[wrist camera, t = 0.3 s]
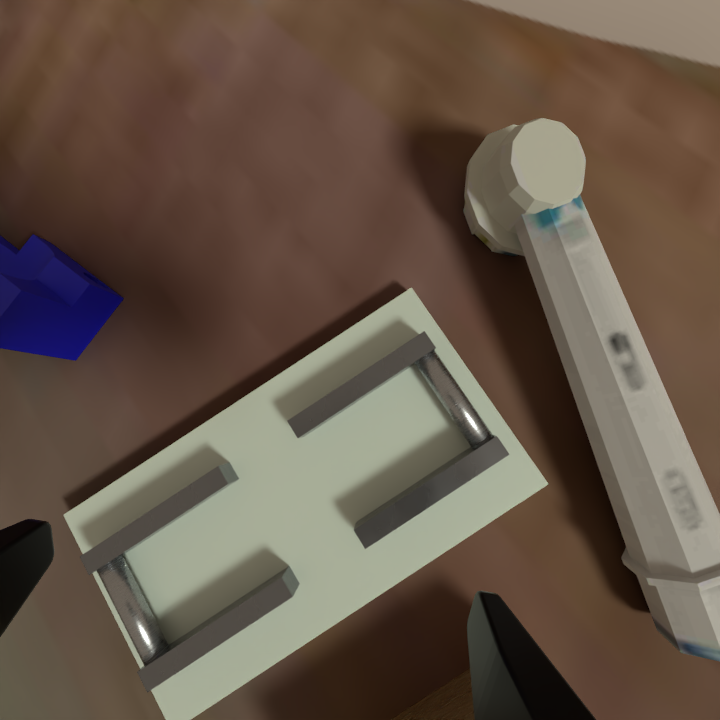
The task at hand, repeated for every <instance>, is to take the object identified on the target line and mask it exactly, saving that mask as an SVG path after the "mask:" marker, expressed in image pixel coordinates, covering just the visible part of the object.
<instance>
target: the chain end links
mask: <svg viewBox="0 0 720 720" xmlns="http://www.w3.org/2000/svg"><path fill="white" fill-rule="evenodd" d="M435 349H436V347H435V346H434V344H433V343H432V341H431V340H430V338H429V337H428V335H427V334H426V332H425V331H424V332H422V333H421V334H419V335H417V336H416V337H414V338H413V339H411V340H410V341H408V342H407V343H405V344H404V345H402V346H401V347H399V348H398V349H396V350H395V351H393V352H391V353H390V354H388V355H387V356H385V357H384V358H382V359H381V360H379V361H378V362H376V363H375V364H373V365H372V366H370V367H369V368H367V369H365V370H364V371H362V372H361V373H359V374H358V375H356V376H355V377H353V378H352V379H350V380H349V381H347V382H346V383H344V384H343V385H341V386H339V387H338V388H336V389H335V390H333V391H332V392H330V393H329V394H327V395H326V396H324V397H323V398H321V399H320V400H318V401H317V402H315V403H314V404H312V405H310V406H309V407H307V408H306V409H304V410H303V411H301V412H300V413H298V414H297V415H295V416H294V417H292V418H291V419H289V420H288V421H287V422H288V423H289V425H290V427H291V428H292V430H293V432H294V433H295V435H296V437H297V438H301V437H304V436H306V435H307V434H309V433H310V432H312V431H313V430H315V429H317V428H318V427H320V426H321V425H323V424H324V423H326V422H327V421H329V420H330V419H332V418H333V417H335V416H336V415H338V414H339V413H341V412H343V411H344V410H346V409H347V408H349V407H350V406H352V405H353V404H355V403H356V402H358V401H359V400H361V399H362V398H364V397H365V396H367V395H368V394H370V393H372V392H373V391H375V390H376V389H378V388H379V387H381V386H382V385H384V384H385V383H387V382H388V381H390V380H391V379H393V378H394V377H396V376H398V375H399V374H401V373H402V372H404V371H405V370H407V369H408V368H410V367H411V366H413V365H414V364H415V365H416V366H417V368H418V369H419V371H420V372H421V374H422V375H423V377H424V378H425V380H426V381H427V382H428V384H429V385H430V387H431V388H432V390H433V391H434V393H435V394H436V396H437V397H438V399H439V400H440V402H441V403H442V405H443V406H444V408H445V409H446V411H447V412H448V414H449V415H450V416H451V418H452V419H453V421H454V422H455V424H456V425H457V427H458V428H459V430H460V431H461V433H462V434H463V436H464V437H465V439H466V440H467V442H468V443H469V445H470V446H471V447H470V448H468V449H466V450H465V451H463V452H462V453H460V454H459V455H457V456H456V457H454V458H453V459H451V460H450V461H448V462H447V463H445V464H444V465H442V466H441V467H439V468H438V469H436V470H434V471H433V472H431V473H430V474H428V475H427V476H425V477H424V478H422V479H421V480H419V481H418V482H416V483H415V484H413V485H412V486H410V487H409V488H407V489H406V490H404V491H403V492H401V493H399V494H398V495H396V496H395V497H393V498H392V499H390V500H389V501H387V502H386V503H384V504H383V505H381V506H380V507H378V508H377V509H375V510H374V511H372V512H371V513H369V514H367V515H366V516H364V517H363V518H361V519H360V520H358V521H357V522H356V524H355V527H354V532H355V533H356V535H357V537H358V538H359V540H360V542H361V543H362V545H363V546H364V548H365V549H366V548H368V547H369V546H371V545H373V544H374V543H376V542H377V541H379V540H380V539H382V538H383V537H385V536H386V535H388V534H389V533H391V532H392V531H394V530H395V529H397V528H398V527H400V526H401V525H403V524H404V523H406V522H408V521H409V520H411V519H412V518H414V517H415V516H417V515H418V514H420V513H421V512H423V511H424V510H426V509H427V508H429V507H430V506H432V505H433V504H435V503H436V502H438V501H439V500H441V499H443V498H444V497H446V496H447V495H449V494H450V493H452V492H453V491H455V490H456V489H458V488H459V487H461V486H462V485H464V484H465V483H467V482H468V481H470V480H471V479H473V478H474V477H476V476H478V475H479V474H481V473H482V472H484V471H485V470H487V469H488V468H490V467H491V466H493V465H494V464H496V463H497V462H499V461H500V460H502V459H503V458H505V457H506V456H508V455H509V453H508V451H507V450H506V448H505V447H504V446H503V444H502V443H501V441H500V440H499V438H498V437H497V436H495V435H493V434H492V433H491V431H490V430H489V428H488V427H487V425H486V424H485V422H484V421H483V419H482V418H481V417H480V415H479V414H478V412H477V411H476V409H475V408H474V406H473V405H472V403H471V402H470V401H469V399H468V398H467V396H466V395H465V393H464V392H463V390H462V389H461V388H460V386H459V385H458V383H457V382H456V380H455V379H454V377H453V376H452V374H451V373H450V372H449V370H448V369H447V367H446V366H445V364H444V363H443V361H442V360H441V358H440V357H439V356H438V354H437V353H436V351H435ZM237 480H239V478H238V476H237V474H236V472H235V471H234V469H233V467H232V465H231V464H230V462H229V463H226V464H223V465H220V466H217V467H216V468H214V469H213V470H211V471H210V472H208V473H207V474H205V475H203V476H202V477H200V478H199V479H197V480H196V481H194V482H193V483H191V484H190V485H188V486H187V487H185V488H184V489H182V490H181V491H179V492H177V493H176V494H174V495H173V496H171V497H170V498H168V499H167V500H165V501H164V502H162V503H161V504H159V505H158V506H156V507H155V508H153V509H151V510H150V511H148V512H147V513H145V514H144V515H142V516H141V517H139V518H138V519H136V520H135V521H133V522H132V523H130V524H129V525H127V526H125V527H124V528H122V529H121V530H119V531H118V532H116V533H115V534H113V535H112V536H110V537H109V538H107V539H106V540H104V541H103V542H101V543H99V544H98V545H96V546H95V547H93V548H92V549H90V550H89V551H87V552H86V553H84V554H83V555H81V556H80V558H81V560H82V562H83V564H84V566H85V568H86V570H87V572H88V574H89V575H90V574H92V573H94V572H96V571H97V573H98V575H99V577H100V579H101V581H102V583H103V585H104V587H105V589H106V590H107V592H108V594H109V596H110V598H111V600H112V602H113V604H114V606H115V608H116V610H117V612H118V614H119V616H120V618H121V620H122V622H123V624H124V626H125V628H126V630H127V632H128V634H129V636H130V638H131V640H132V642H133V644H134V646H135V648H136V650H137V652H138V654H139V656H140V658H141V660H142V662H143V664H144V666H143V667H142V668H141V669H140V670H139V671H138V672H137V673H138V675H139V677H140V679H141V681H142V683H143V685H144V687H145V689H146V691H147V692H149V691H150V690H152V689H153V688H155V687H156V686H158V685H159V684H161V683H162V682H164V681H166V680H167V679H169V678H170V677H172V676H173V675H175V674H176V673H178V672H179V671H181V670H182V669H184V668H185V667H187V666H188V665H190V664H191V663H193V662H194V661H196V660H197V659H199V658H201V657H202V656H204V655H205V654H207V653H208V652H210V651H211V650H213V649H214V648H216V647H217V646H219V645H220V644H222V643H223V642H225V641H226V640H228V639H229V638H231V637H232V636H234V635H236V634H237V633H239V632H240V631H242V630H243V629H245V628H246V627H248V626H249V625H251V624H252V623H254V622H255V621H257V620H258V619H260V618H261V617H263V616H264V615H266V614H268V613H269V612H271V611H272V610H274V609H275V608H277V607H278V606H280V605H281V604H283V603H284V602H286V601H287V600H289V599H290V598H292V597H293V596H294V594H295V592H296V590H297V588H298V586H299V584H300V583H299V582H298V580H297V578H296V576H295V575H294V573H293V571H292V569H291V568H290V566H288V567H287V568H285V569H284V570H282V571H281V572H279V573H278V574H276V575H275V576H273V577H272V578H270V579H268V580H267V581H265V582H264V583H262V584H261V585H259V586H258V587H256V588H255V589H253V590H252V591H250V592H249V593H247V594H246V595H244V596H243V597H241V598H240V599H238V600H236V601H235V602H233V603H232V604H230V605H229V606H227V607H226V608H224V609H223V610H221V611H220V612H218V613H217V614H215V615H214V616H212V617H211V618H209V619H208V620H206V621H204V622H203V623H201V624H200V625H198V626H197V627H195V628H194V629H192V630H191V631H189V632H188V633H186V634H185V635H183V636H182V637H180V638H179V639H177V640H176V641H174V642H172V643H171V644H169V645H168V643H167V641H166V639H165V637H164V635H163V633H162V631H161V629H160V627H159V625H158V623H157V621H156V620H155V618H154V616H153V614H152V612H151V610H150V608H149V606H148V604H147V602H146V600H145V598H144V596H143V594H142V592H141V590H140V588H139V587H138V585H137V583H136V581H135V579H134V577H133V575H132V573H131V571H130V569H129V567H128V565H127V563H126V561H125V559H124V557H123V555H124V554H126V553H127V552H129V551H130V550H132V549H133V548H135V547H136V546H138V545H139V544H141V543H142V542H144V541H145V540H147V539H149V538H150V537H152V536H153V535H155V534H156V533H158V532H159V531H161V530H162V529H164V528H165V527H167V526H168V525H170V524H171V523H173V522H174V521H176V520H178V519H179V518H181V517H182V516H184V515H185V514H187V513H188V512H190V511H191V510H193V509H194V508H196V507H197V506H199V505H200V504H202V503H203V502H205V501H207V500H208V499H210V498H211V497H213V496H214V495H216V494H217V493H219V492H220V491H222V490H223V489H225V488H226V487H228V486H229V485H231V484H233V483H234V482H236V481H237Z"/></svg>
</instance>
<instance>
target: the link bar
mask: <svg viewBox="0 0 720 720" xmlns="http://www.w3.org/2000/svg"><path fill="white" fill-rule="evenodd" d="M392 720H475V718H474V708H473V697H472V685H471V673H470V669H468V670H467V671H465V672H464V673H462V674H461V675H459V676H457V677H456V678H454V679H453V680H451V681H450V682H448V683H447V684H445V685H444V686H442V687H441V688H439V689H438V690H436V691H434V692H433V693H431V694H430V695H428V696H427V697H425V698H424V699H422V700H421V701H419V702H418V703H416V704H415V705H413V706H411V707H410V708H408V709H407V710H405V711H404V712H402V713H401V714H399V715H398V716H396V717H395V718H393V719H392Z"/></svg>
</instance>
